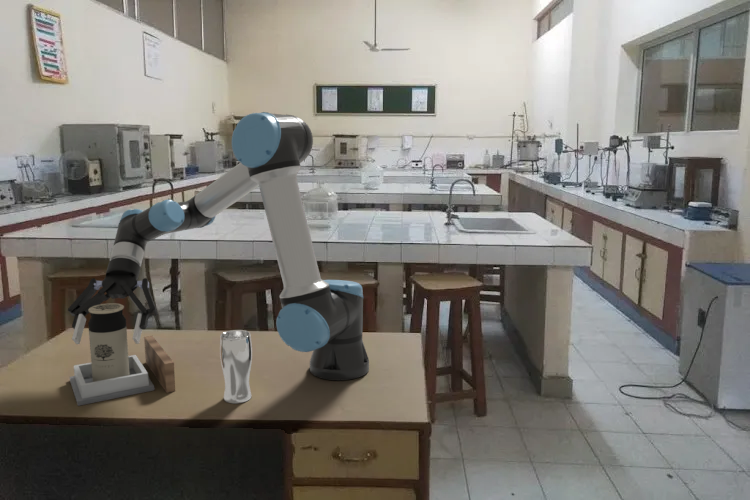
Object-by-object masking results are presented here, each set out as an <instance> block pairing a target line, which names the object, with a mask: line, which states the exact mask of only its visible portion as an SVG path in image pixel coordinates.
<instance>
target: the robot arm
mask: <svg viewBox="0 0 750 500" xmlns="http://www.w3.org/2000/svg"><path fill="white" fill-rule="evenodd" d="M313 145H314V137H313V133H312V130H311V128H310V126H309V125H308V124H307V122H305V120H303V119H302V118H301V117H298V116H297V115H291V114H279V113H272V112H271V113H270V112H266V111H263V112H253V113H249V114H247V115H245V116H243V117H242V118H241V119H240V120H239V121H238V122H237V124H236V126H235V128H234V130H233V132H232V135H231V150H232V153H233V155H234V158H235V159H236V161H238V162H239V163H238V164H236V165H235V166H234V167H232V168H231V169H229V170H228V171H226V172H225V173H224V174H223V175H221V176H220V177H218V178H217V179H216V180H214V181H213V182H211V183H210V184H209V185H208V186H206V187H204V188H203V189H201V191H199V192H198V193H197V194H195V195H194V196H193V197H190V198H189V199H188V200H186V201H180V202H177V201H175V200H172V199H164V200H162V201H160V202H156V203H155V204H153V205H152V206H150V207H149V208H146V209H145V210H142V209H139V208H138V209H137V208H134V209H127V210H125V211H124V212H123V213H122V215H121V218H120V220H119V222H118V225H117V231H116V234H115V239H114V243H113V246H112V250H111V254H110V256H109V262H108V264H107V268H106V272H105V276H104V279H103V280H97V279H96V278H93V277H92V278H90V281H89V282H88V285H87V287H86V288H85V289H84V290H83V291H81V293H80V294H79V296H78V297H77V298H76V299H75V300H74V301H73V302H72V304H71V305H69V307H68V309H67V311H68V313H69V314H70V315H71V317H73V321H72V324H71V327H72V329H73V334H72V337H71V340H72V341H73V343H75V344H76V345H80V344H81V339H82V336H83V334H84V329H85V325H86V321H87V317H86V316H87V315H88V314H90V312H89V311H88V310H89V308H90V307H93V306H95V305H100V304H103V302H104V301H108V300H109V299H110V298H111V299H113V300H114V299H126V298H129V299H130V300H131V301H132V303H133V304H134V306H135V307H136V308H137V310H138V311H139V312H140V313H139V312H138V313H137V316H136V321H135V325H134V329H133V334H132V340H133V341H134V343H135V344H140V341H141V337H142V332H143V330H147V326H148V322H149V318H150V317H152V316H153V317H156V316H157V315H158V314H159V312H158V310H157V307H156V304H155V302H154V299H153V296H152V294H151V289H150V288H151V283H150V282H149V280H148V278H146V277H145V278H144V277H143V278H142V280H139V276H140V272H141V267H142V264H143V258H144V255H145V251H146V246H147V244H148V243H149V242H151V241H153V240H155V239H156V238H159V237H161V236H163V235H167V234H172V233H177V232H182V231H187V230H194V229H201V228H205V227H206V226H210V225H211V224H212V223H214V221H215V218H216V216H217V215H219V214H221V213H222V212H223V211H225V210H226V209H228V208H229V207H231V206H232V205H234V204H235V203H237V202H238V201H239V200H241V199H243V198H244V197H245V196H247V195H248V194H249V193H252V192H253V191H254V190H256V189H257V188H259V190H260V195H261V200H262V203H263V207H264V212H265V214H266V215H265V216H266V219H267V224H268V228H269V231H270V236H271V240H272V244H273V249H274V252H275V255H276V257H275V258H276V260H277V264H278V269H279V271H280V272H279V273H280V276H281V279H282V284H283V289H282V290H281V292H280V294H279V301H280V305H281V309H280V310H279V312H278V314H277V317H276V320H275V321H276V324H275V325H276V330H277V333H278V335H279V337H280V338H281V340H282V342H283V343H284V344H286V345H287V346H289V347H290V348H291V349H292V350H294V351H298V352H300V353H309V352H311V353H312V354H311V357H310V359H309V372H310V373H311V374H312V375H313V376H315V377H317V378H320V379H323V380H328V381H329V380H330V381H349V380H354V379H358V378H361V377H362V376H365V375H367V373H368V372H369V370H370V359H369V356H368V352H367V351H366V350H367V349H366V347H365V343H364V341H363V320H364V319H363V318H364V317H363V315H364V313H363V311H364V307H363V306H364V294H363V293H364V292H363V286H362V284H360V283H359V282H356V281H352V280H341V279H322V278H321V274H320V270H319V266H318V261H317V258H316V253H315V249H314V245H313V244H314V243H313V241H312V240H313V239H312V236H311V232H310V229H309V224H308V221H307V217H306V216H307V215H306V211H305V208H304V203H303V199H302V196H301V195H302V194H301V191H300V187H299V183H298V179H297V176H298V173H299V171H300V170H301V168H302V167H301V163H302V162H305V160H306V159H307V158H308V157H309V155H310V154H311V151H312V149H313ZM138 288H140V289H141V290H142V291H143V294H144V297H145V299H146V303H147V305H148V307H149V308H148V309H147V308H146V306H145V305H144V304H143V303H142V302H141V300H139V298H138V297H137V295H136V294H135V293H134V291H135V290H136V289H138ZM96 292H97V293H96Z"/></svg>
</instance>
